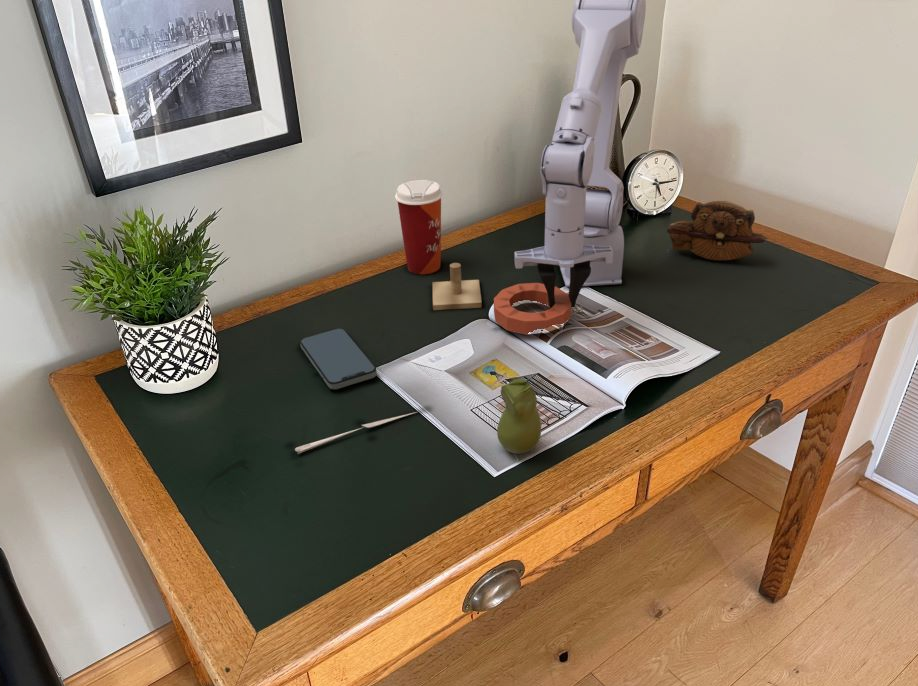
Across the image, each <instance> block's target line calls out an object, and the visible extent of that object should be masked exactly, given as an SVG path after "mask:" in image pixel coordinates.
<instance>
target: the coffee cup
mask: <svg viewBox="0 0 918 686" xmlns="http://www.w3.org/2000/svg"><path fill="white" fill-rule="evenodd" d="M443 196H444V192H443V191H442V189H441V186H440V184H439V183H438V182H436V181H433V180H428V179H415V180H414V179H413V180H410V181H406V182H403V183H400V185H399V186H397V188H396V193H395V195H394V198H395V200H396V201H397V207H398V214H399V220H400V228H401V234H402V241H403V247H404V253H405V254H404V255H405V260H406V265H407V270H408V271H409V272H410V273H412V274H414V275H415V274H416V275H428V274H433V273H435V272H437V271H438V270H440V268H441V261H442V260H441V259H442V198H443Z"/></svg>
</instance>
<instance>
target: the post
mask: <svg viewBox="0 0 918 686" xmlns="http://www.w3.org/2000/svg"><path fill="white" fill-rule="evenodd" d="M449 277H450V278H449V279H450V280H449V281H448V280H445V281H432V283H431V284H432V310H433V311H445V310H463V309H464V310H465V309H481V308H483V303H482V294H481V293H482V292H481V286H480V285H481V284H480V280H479V279H465V280H462V265H461V263H459V262H452V263H450V264H449Z"/></svg>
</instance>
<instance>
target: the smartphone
mask: <svg viewBox="0 0 918 686" xmlns="http://www.w3.org/2000/svg"><path fill="white" fill-rule="evenodd" d="M299 345H300V348H301V350H302V351H303V353H304V354H305V356H306V357H307V358H308V360H309V361H310V363H311V365H312V366H313V367H314V368H315V370H316V372H317V373H318V374H319V376H320V377H321V379H322V380H323V381H324V383H325V384H326V386H327V388H329V389H330V390H339V389H342V388H345V387H348V386H352V385H355V384H358V383H361V382H364V381H368V380H371V379H373V378H375V377H377V375H378V372H377V371H378V370H377V367H376V366H375V365H374V364H373V362H372V361H371V360H370V358H369V357H368V356H367V355H366V354H365V353H364V351H363V350H362V349H361V348H360V347H359V345H358V344H357V343H356V342H355V341H354V340H353V338H352V337H351V336H350V334H349V333H348V331H346V330H345V329H342V328H336V329H332V330H328V331H325V332H321V333H318V334H315V335H314V334H313V335H311V336H307V337H304V338H302V339H301V340H300V341H299Z"/></svg>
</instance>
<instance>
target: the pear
mask: <svg viewBox="0 0 918 686" xmlns="http://www.w3.org/2000/svg"><path fill="white" fill-rule="evenodd" d="M500 396H501V398H502V401H503V402H504V405H505V408H504V410H503V412H502V413H501V416H500V418H499V421H498V424H497V429H496V435H497V439H498V442H499V444H500V445H501V446H502V448H504V449H505V451H507V452H510V453H511V454H518V455H521V454H526V453H528V452H530V451H532V450H533V449H535V447H536V446H537V445H538V444H539V442H540V439H541V435H542V421H541V416H540V411H539V408H537V404H538V397H537V394H536V391H534V389H533V388H532V385H531V383H530V381H529V380H528V381H526V380H525V379H521V378H515V379H513V380H512V381H510V382H507V383H505V384H503V385H501V388H500Z"/></svg>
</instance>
